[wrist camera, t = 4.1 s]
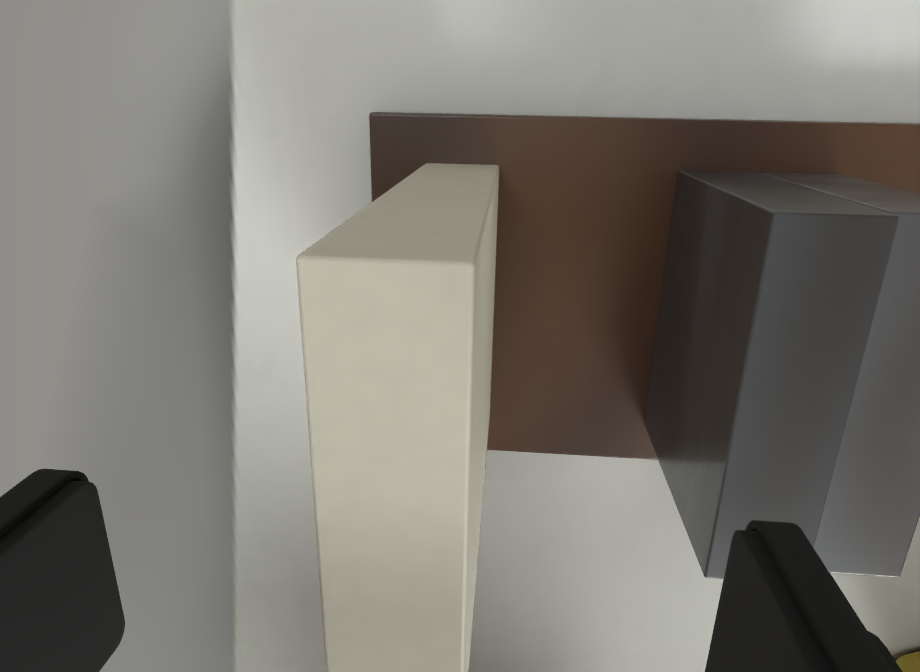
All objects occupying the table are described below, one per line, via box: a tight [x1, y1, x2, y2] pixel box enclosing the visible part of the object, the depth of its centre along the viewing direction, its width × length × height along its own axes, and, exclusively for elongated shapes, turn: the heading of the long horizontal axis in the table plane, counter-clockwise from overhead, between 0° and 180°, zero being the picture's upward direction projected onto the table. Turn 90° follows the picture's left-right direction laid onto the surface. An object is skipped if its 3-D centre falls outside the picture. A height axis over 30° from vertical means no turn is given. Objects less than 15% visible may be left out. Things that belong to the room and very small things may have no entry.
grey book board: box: [369, 112, 920, 579], centre depth 18 cm, size 19×12×9 cm, turn 89°
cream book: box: [296, 163, 499, 672], centre depth 16 cm, size 2×9×13 cm, turn 179°
